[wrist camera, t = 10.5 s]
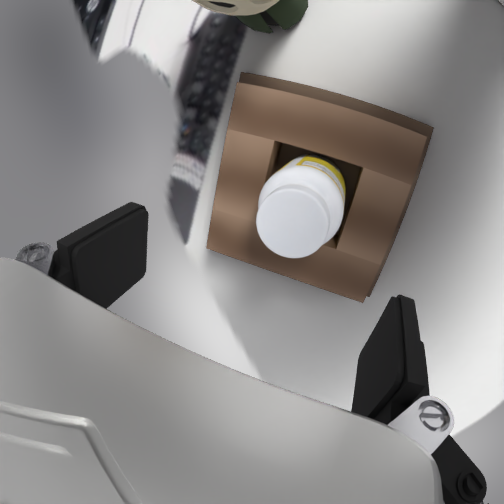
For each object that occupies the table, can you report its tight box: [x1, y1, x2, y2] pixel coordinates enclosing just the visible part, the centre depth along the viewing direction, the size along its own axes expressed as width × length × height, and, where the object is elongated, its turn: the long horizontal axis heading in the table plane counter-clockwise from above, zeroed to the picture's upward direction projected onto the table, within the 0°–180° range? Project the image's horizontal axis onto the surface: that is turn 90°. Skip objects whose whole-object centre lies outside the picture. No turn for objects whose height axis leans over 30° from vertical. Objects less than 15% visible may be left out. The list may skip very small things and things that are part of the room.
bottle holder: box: [206, 72, 434, 303], centre depth 25 cm, size 16×16×4 cm
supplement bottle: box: [256, 154, 346, 258], centre depth 21 cm, size 5×5×10 cm
